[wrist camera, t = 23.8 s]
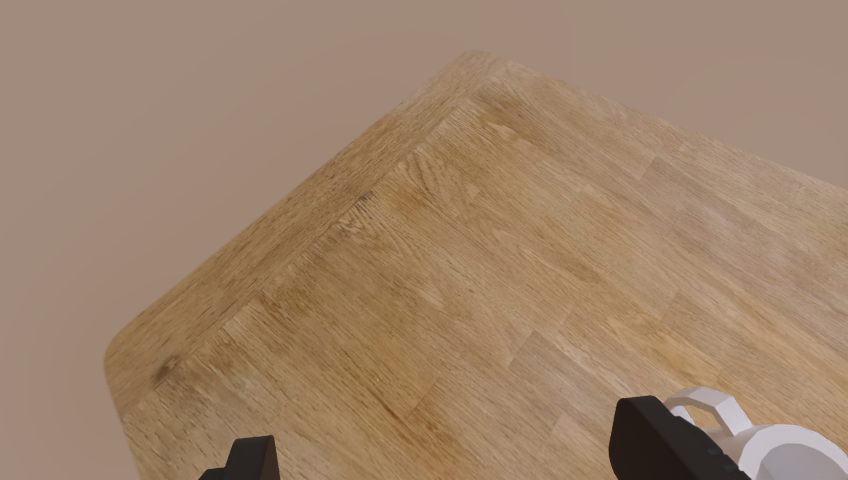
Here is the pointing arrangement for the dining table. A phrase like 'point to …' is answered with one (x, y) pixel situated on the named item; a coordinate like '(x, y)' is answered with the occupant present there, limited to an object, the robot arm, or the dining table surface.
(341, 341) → the dining table surface
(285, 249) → the dining table surface
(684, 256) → the dining table surface
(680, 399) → the mug
